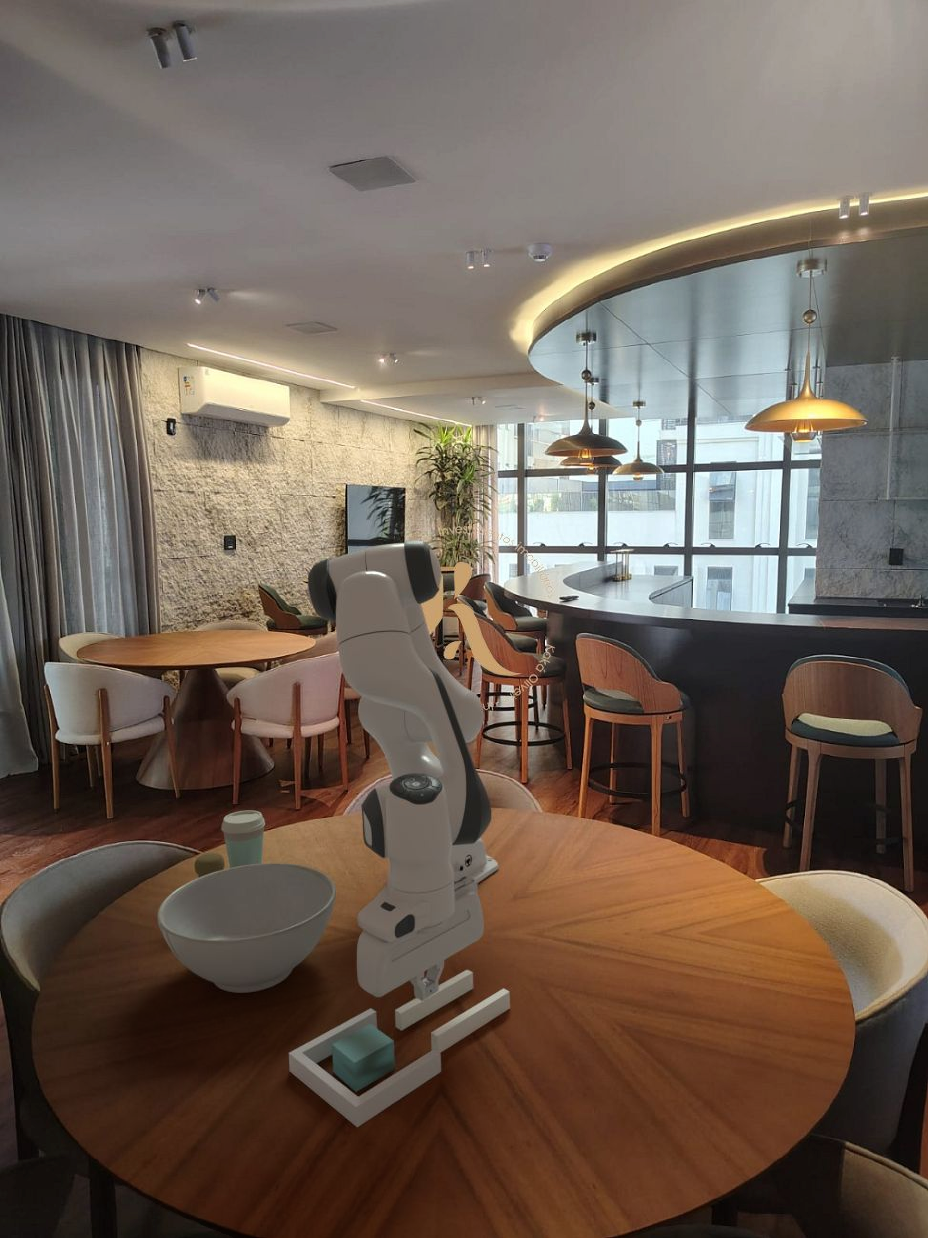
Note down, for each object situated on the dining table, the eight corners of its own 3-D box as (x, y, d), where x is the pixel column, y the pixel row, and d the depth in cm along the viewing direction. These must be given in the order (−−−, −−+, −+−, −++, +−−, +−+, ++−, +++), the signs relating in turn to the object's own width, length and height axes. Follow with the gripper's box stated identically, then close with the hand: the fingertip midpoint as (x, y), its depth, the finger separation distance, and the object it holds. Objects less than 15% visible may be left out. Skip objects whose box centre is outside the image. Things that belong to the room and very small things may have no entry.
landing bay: (371, 1025, 113) (370, 1008, 112) (441, 1071, 103) (440, 1053, 102) (289, 1071, 104) (288, 1053, 103) (357, 1127, 93) (356, 1107, 93)
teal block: (371, 1052, 107) (370, 1024, 107) (395, 1070, 103) (393, 1041, 103) (333, 1073, 103) (331, 1044, 103) (356, 1093, 100) (354, 1063, 99)
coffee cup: (276, 867, 167) (272, 811, 166) (252, 885, 159) (248, 826, 158) (240, 863, 170) (237, 807, 168) (215, 880, 162) (211, 822, 160)
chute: (467, 985, 122) (467, 969, 122) (510, 1008, 116) (509, 991, 115) (395, 1027, 112) (394, 1010, 112) (437, 1054, 106) (437, 1036, 106)
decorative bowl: (123, 1002, 120) (116, 924, 119) (236, 919, 145) (232, 854, 144) (275, 1039, 110) (270, 954, 109) (369, 943, 135) (366, 874, 134)
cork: (235, 906, 150) (231, 849, 149) (222, 922, 144) (218, 862, 143) (203, 905, 151) (199, 848, 150) (189, 921, 145) (185, 862, 144)
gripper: (459, 865, 117) (463, 954, 119) (346, 919, 103) (353, 1020, 105) (492, 877, 113) (495, 970, 115) (378, 936, 99) (384, 1041, 101)
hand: (426, 994), depth 110 cm, fingers closed
